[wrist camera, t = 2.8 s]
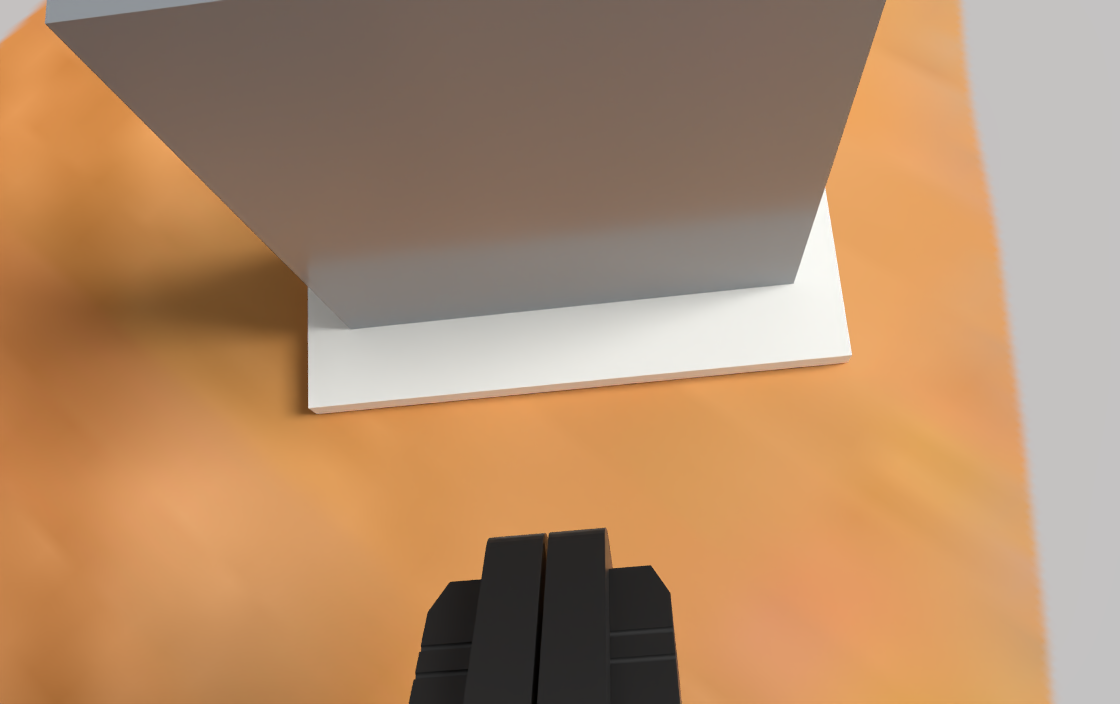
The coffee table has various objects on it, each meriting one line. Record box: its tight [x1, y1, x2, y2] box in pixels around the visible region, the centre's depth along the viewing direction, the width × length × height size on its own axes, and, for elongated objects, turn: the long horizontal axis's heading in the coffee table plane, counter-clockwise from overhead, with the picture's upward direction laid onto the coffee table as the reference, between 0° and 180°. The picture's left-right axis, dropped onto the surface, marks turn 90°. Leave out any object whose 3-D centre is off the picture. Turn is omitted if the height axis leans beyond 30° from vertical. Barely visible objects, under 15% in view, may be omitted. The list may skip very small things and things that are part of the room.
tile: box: [45, 0, 886, 329], centre depth 18 cm, size 10×3×12 cm, turn 94°
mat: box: [308, 189, 852, 414], centre depth 25 cm, size 12×16×1 cm
